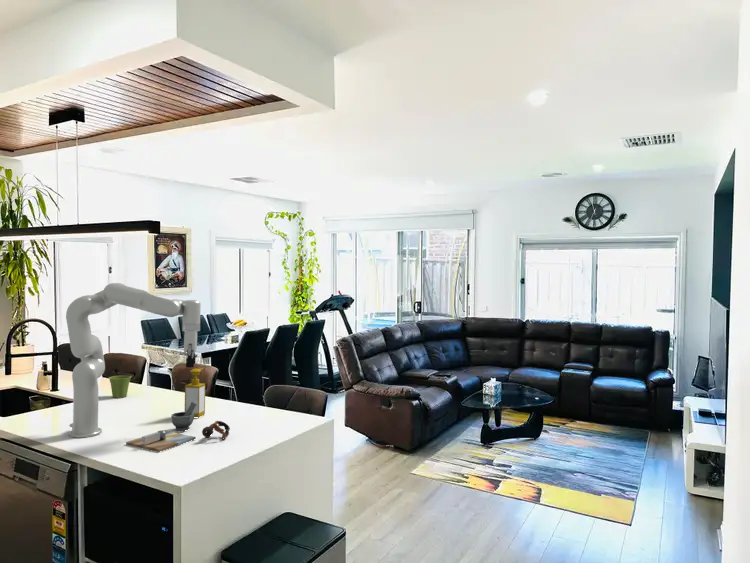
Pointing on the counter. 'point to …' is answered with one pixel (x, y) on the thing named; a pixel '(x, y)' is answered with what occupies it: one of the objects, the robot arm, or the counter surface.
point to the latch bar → (154, 437)
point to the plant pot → (119, 386)
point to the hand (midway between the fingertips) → (190, 365)
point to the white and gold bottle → (195, 394)
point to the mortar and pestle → (184, 418)
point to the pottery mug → (216, 429)
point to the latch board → (162, 442)
